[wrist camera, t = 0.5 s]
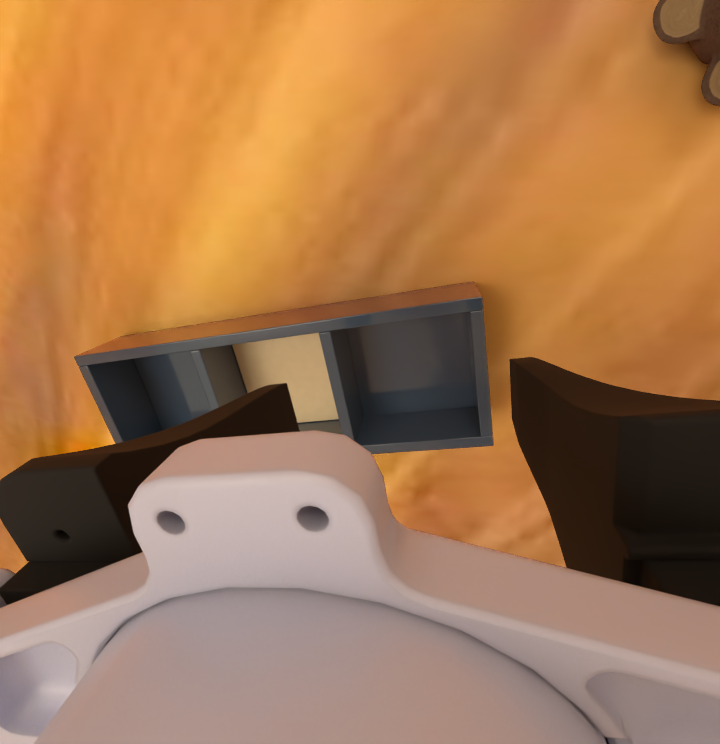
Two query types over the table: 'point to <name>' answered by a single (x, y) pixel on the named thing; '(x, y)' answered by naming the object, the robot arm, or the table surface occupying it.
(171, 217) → the table surface
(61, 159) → the table surface
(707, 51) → the bear figurine
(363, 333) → the divided storage box
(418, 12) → the table surface
